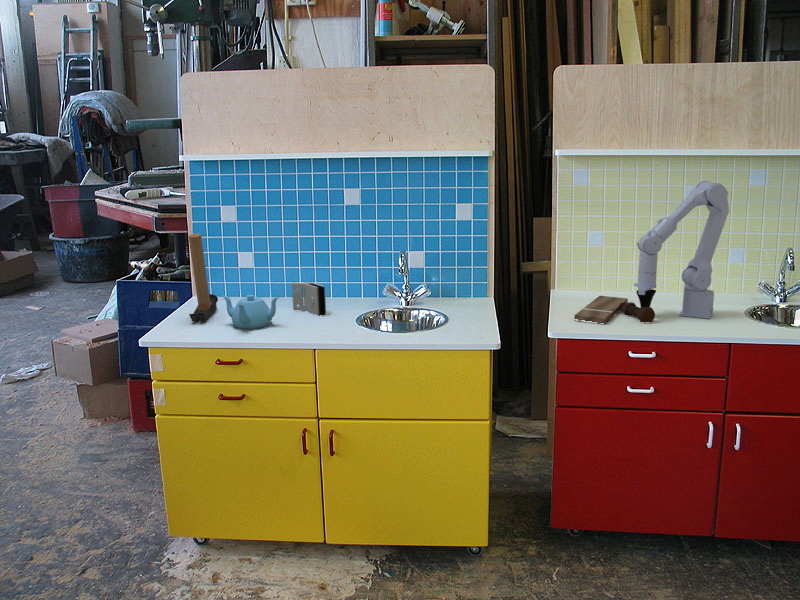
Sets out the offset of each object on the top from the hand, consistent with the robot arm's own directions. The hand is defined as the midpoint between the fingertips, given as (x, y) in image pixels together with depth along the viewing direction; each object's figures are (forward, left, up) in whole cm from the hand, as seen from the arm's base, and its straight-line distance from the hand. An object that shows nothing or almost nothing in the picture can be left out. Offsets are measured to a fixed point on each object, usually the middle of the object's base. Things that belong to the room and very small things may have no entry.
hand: (645, 311), depth 251 cm
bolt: (+3, +3, -2) cm, 4 cm away
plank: (+14, +1, -2) cm, 14 cm away
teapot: (+112, +68, -2) cm, 131 cm away
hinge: (+105, +45, -2) cm, 114 cm away
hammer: (+135, +66, -2) cm, 150 cm away
